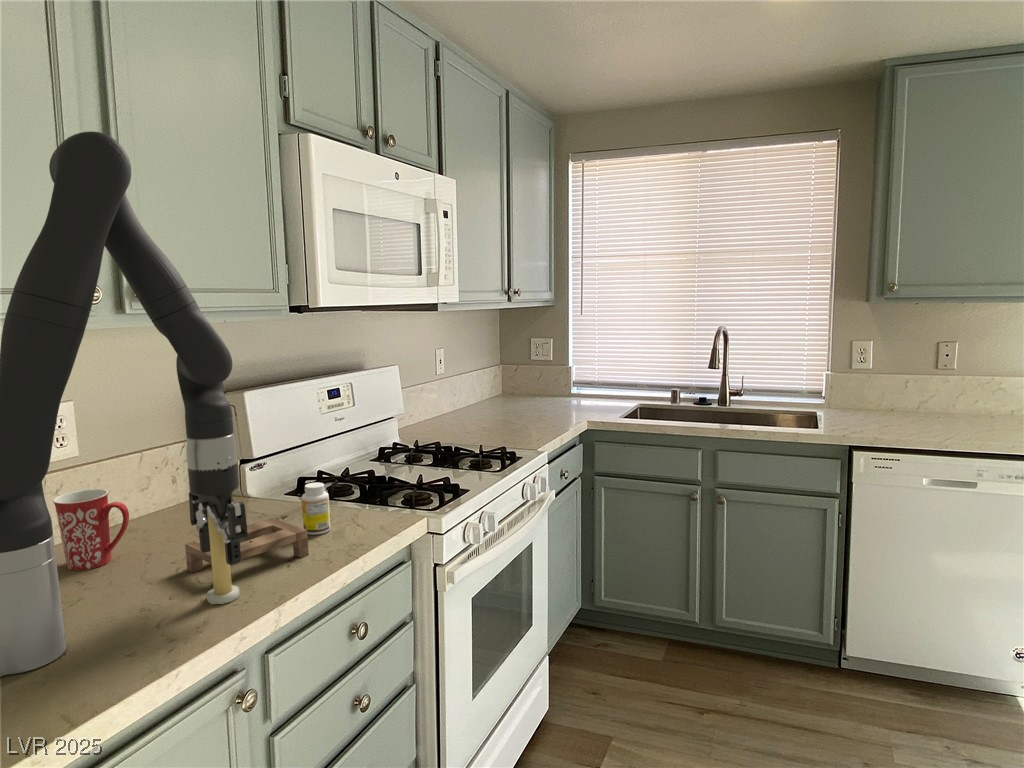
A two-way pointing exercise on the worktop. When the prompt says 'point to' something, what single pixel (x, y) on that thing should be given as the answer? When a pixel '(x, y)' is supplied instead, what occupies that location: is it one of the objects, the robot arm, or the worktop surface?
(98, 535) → the mug
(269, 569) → the worktop surface
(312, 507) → the supplement bottle
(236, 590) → the peg
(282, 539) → the keyhole board
